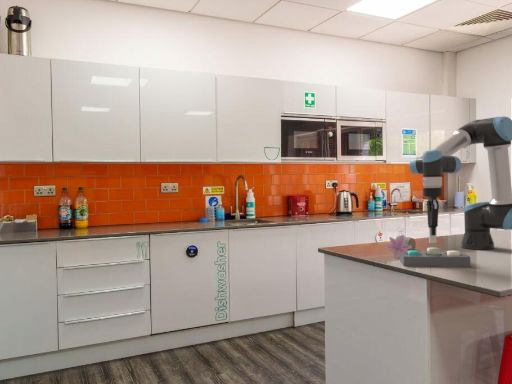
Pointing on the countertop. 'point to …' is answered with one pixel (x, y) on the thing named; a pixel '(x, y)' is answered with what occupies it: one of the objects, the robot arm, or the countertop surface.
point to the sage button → (433, 251)
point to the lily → (398, 246)
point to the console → (435, 260)
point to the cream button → (453, 253)
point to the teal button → (413, 252)
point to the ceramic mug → (409, 242)
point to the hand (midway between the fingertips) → (432, 242)
